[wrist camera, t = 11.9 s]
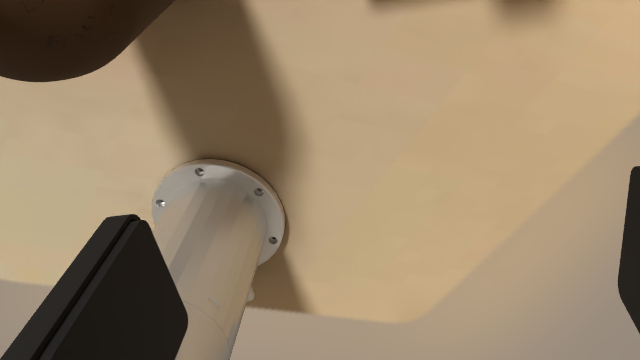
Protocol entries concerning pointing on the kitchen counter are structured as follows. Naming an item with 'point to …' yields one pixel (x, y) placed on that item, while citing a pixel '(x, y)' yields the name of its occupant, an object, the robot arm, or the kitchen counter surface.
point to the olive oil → (68, 35)
